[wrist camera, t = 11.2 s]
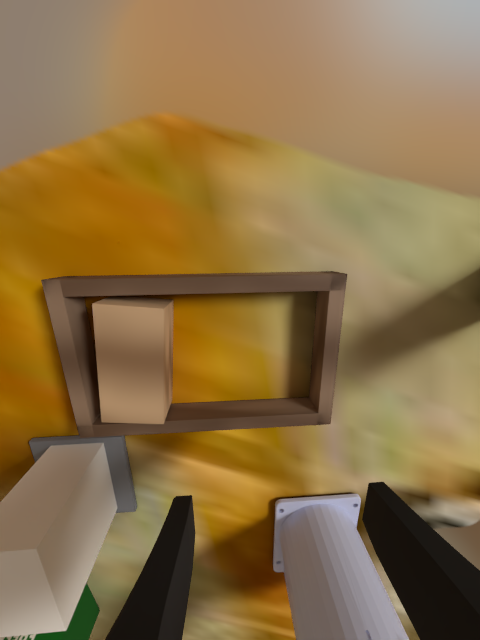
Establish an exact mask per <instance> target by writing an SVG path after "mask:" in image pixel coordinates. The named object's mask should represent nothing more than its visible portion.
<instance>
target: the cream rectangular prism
mask: <svg viewBox="0 0 480 640" xmlns="http://www.w3.org/2000/svg"><path fill="white" fill-rule="evenodd" d="M116 510H117V503H116V499H115V494H114V489H113V485H112V480H111V475H110V471H109V466H108V461H107V457H106V452H105V447H104V443H88V444H70V445H53V446H50V447H49V448H48V449H47V450H46V452H45V453H44V454H43V455H42V456H41V457H40V458H39V459H38V460H37V462H36V463H35V464H34V465H33V466H32V467H31V468H30V469H29V471H28V472H27V473H26V474H25V475H24V476H23V477H22V478H21V479H20V481H19V482H18V483H17V484H16V485H15V486H14V487H13V488H12V490H11V491H10V492H9V493H8V494H7V495H6V496H5V497H4V499H3V500H2V501H1V502H0V637H10V636H20V635H30V634H40V633H50V632H60V631H66V630H67V628H68V625H69V623H70V621H71V618H72V616H73V613H74V611H75V609H76V606H77V604H78V602H79V599H80V597H81V594H82V592H83V590H84V587H85V585H86V582H87V580H88V578H89V575H90V573H91V570H92V568H93V566H94V563H95V561H96V558H97V556H98V554H99V551H100V549H101V546H102V544H103V542H104V539H105V537H106V534H107V532H108V530H109V527H110V525H111V522H112V520H113V518H114V515H115V513H116Z"/></svg>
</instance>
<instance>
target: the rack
mask: <svg viewBox="0 0 480 640" xmlns="http://www.w3.org/2000/svg"><path fill="white" fill-rule="evenodd" d="M346 280H347V274H344V273H339V272H333V271H330V272H276V273H222V274H168V275H115V276H64V277H57V278H51V279H45V280H41V281H42V285H43V289H44V293H45V297H46V301H47V305H48V310H49V314H50V318H51V322H52V326H53V330H54V334H55V338H56V342H57V346H58V350H59V355H60V359H61V363H62V367H63V371H64V375H65V379H66V383H67V387H68V391H69V395H70V400H71V404H72V408H73V412H74V416H75V420H76V424H77V428H78V432H79V436H80V438H87V437H105V436H123V435H141V434H159V433H177V432H196V431H214V430H232V429H250V428H268V427H286V426H304V425H322V424H330V423H331V414H332V405H333V397H334V388H335V379H336V370H337V361H338V352H339V343H340V334H341V325H342V316H343V307H344V298H345V289H346ZM294 291H317V302H316V315H315V327H314V340H313V353H312V365H311V378H310V391H309V397H302V398H282V399H261V400H240V401H220V402H199V403H179V404H171V405H170V407H169V410H168V413H167V416H166V419H165V422H164V424H140V423H107V422H102V421H101V409H100V397H99V384H98V372H97V360H96V355H95V350H94V345H93V340H92V335H91V330H90V325H89V320H88V315H87V310H86V305H85V300H84V296H121V295H164V294H208V293H251V292H294Z"/></svg>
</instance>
